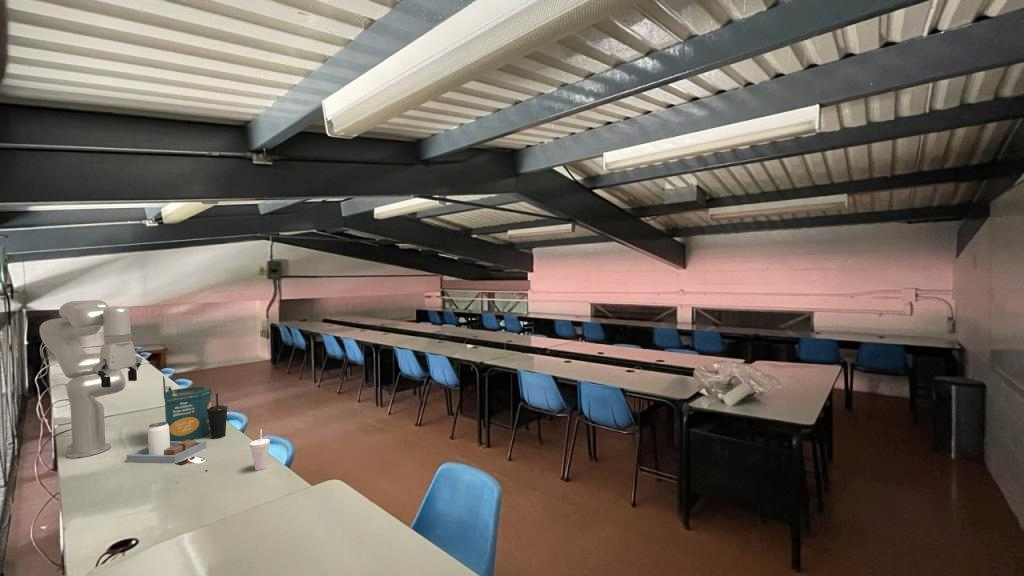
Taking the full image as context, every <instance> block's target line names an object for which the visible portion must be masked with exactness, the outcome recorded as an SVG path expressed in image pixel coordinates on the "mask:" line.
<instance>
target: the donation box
mask: <svg viewBox="0 0 1024 576" xmlns="http://www.w3.org/2000/svg"><path fill="white" fill-rule="evenodd" d="M162 385H163V387H162V388H163V399H164V411H165V415H164V416H165V422H168V423H167V424H168V425H169V434H170V441H182V442H183V441H186V440H199V439H203V438H205V437H207V436H209V435H211V431H210V424H209V418H208V412H207V409H209V408H210V407H212V403H211V402H212V399H211V398H212V397H211V395H212V388H211V387H210V386H209V385H196V386H191V387H190V386H188V387H183V388H177V389H172V386H171V385H169V386H168V385H166V380H165V375H162Z"/></svg>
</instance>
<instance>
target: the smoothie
mask: <svg viewBox="0 0 1024 576" xmlns="http://www.w3.org/2000/svg"><path fill="white" fill-rule="evenodd" d="M259 437H260V438H259V439H256V440H253V441H251V442H250V443H249V448H250V449H251V450H250V451H251V456H252V460H253V466H254V470H255V471H262V470H261V469H263V470H265V469H266V467H268V459H269V449H270V447H269V446H270V443H271V440H270V439H269V438H263V429H262V428H261V429H259ZM264 468H265V469H264Z"/></svg>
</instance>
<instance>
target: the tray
mask: <svg viewBox="0 0 1024 576" xmlns="http://www.w3.org/2000/svg"><path fill="white" fill-rule="evenodd" d="M181 442H182V441H170V447H171V446H178V443H181ZM206 443H207V442H206V441H196V446H193V447H191V448H189V449H187V450H185V451H183V452H180V453H178V454H176V455H149V448H148V446H147V447H144V448H142V449H138V450H137V451H134V452H131V453H130V454H126V462H127V463H148V464H149V463H151V464H152V463H153V464H156V463H157V464H158V463H159V464H175V463H177V462H180V461H183V460H185V459H187V458H190V457H191V456H194V455H195V454H197V453H199V452H201V451H203V450H206V449H207V444H206Z"/></svg>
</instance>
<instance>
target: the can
mask: <svg viewBox="0 0 1024 576" xmlns="http://www.w3.org/2000/svg"><path fill="white" fill-rule="evenodd" d="M167 423H168V422H166V421H158V422H155V423H152V424H150V425H148V429H147V441H148V442H147V444H148V446H147V447H148V448H149V455H164V450H165V449H167V448H169V447H170V434H169V425H168V424H167Z"/></svg>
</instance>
